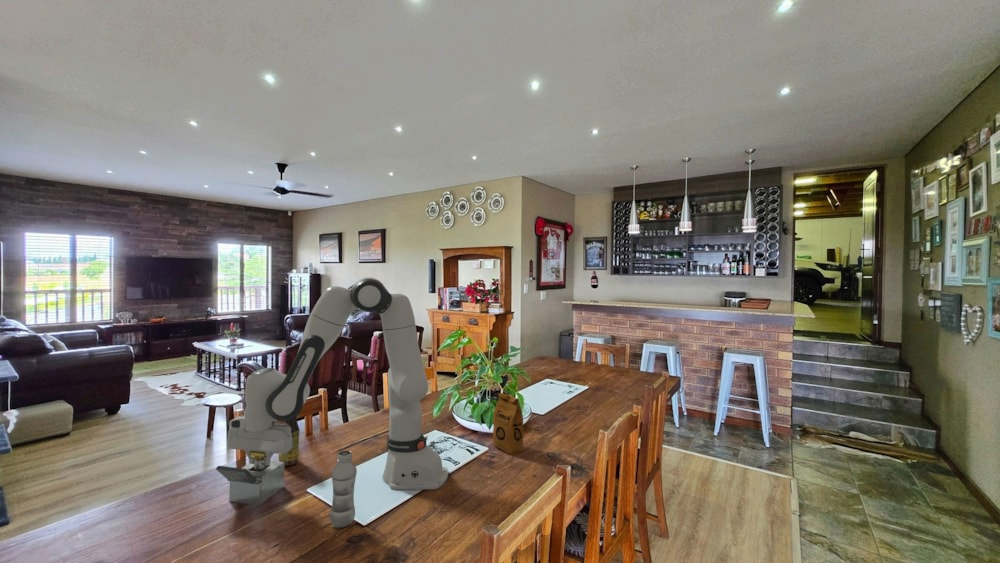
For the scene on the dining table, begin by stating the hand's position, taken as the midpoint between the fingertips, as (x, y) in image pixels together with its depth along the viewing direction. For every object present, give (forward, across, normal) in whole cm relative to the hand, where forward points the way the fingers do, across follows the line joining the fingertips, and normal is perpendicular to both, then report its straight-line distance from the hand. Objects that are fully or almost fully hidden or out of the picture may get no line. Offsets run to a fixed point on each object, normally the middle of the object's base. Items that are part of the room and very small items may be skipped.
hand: (259, 464), depth 128 cm
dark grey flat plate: (0, 0, +9) cm, 9 cm away
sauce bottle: (+9, +4, -20) cm, 22 cm away
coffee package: (+10, -73, -50) cm, 89 cm away
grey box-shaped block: (+9, 0, 0) cm, 9 cm away
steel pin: (+5, 0, 0) cm, 5 cm away
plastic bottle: (+9, -34, +10) cm, 36 cm away
